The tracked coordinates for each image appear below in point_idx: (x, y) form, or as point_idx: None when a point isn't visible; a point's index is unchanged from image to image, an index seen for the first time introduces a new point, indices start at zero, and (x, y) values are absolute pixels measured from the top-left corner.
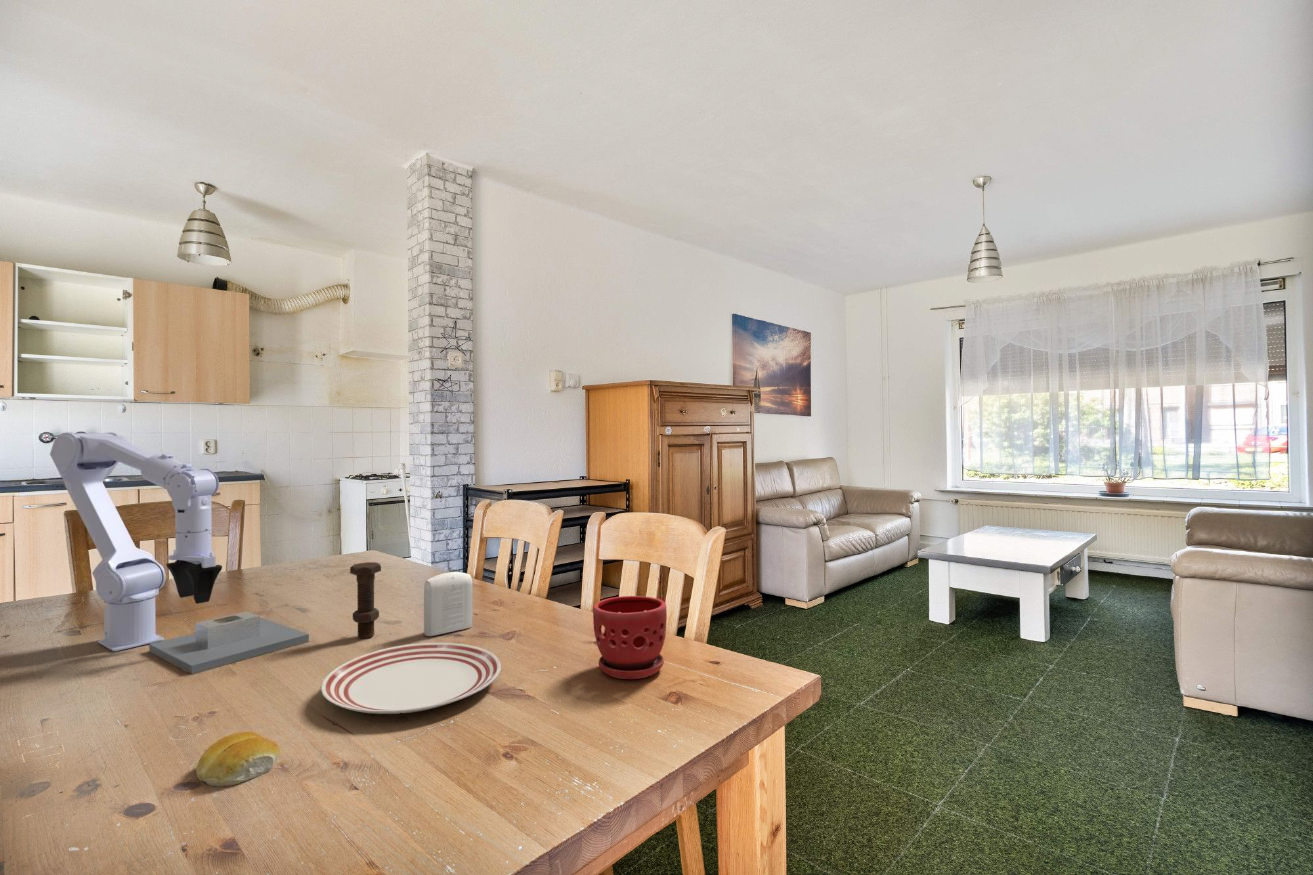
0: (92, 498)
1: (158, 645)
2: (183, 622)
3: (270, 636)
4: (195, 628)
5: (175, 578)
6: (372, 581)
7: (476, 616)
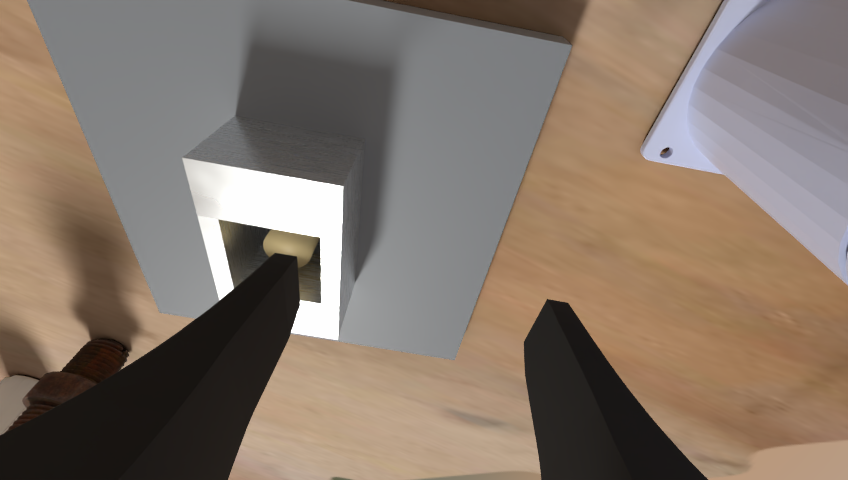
0: None
1: (496, 50)
2: (757, 295)
3: None
4: (348, 171)
5: (621, 434)
6: None
7: None
